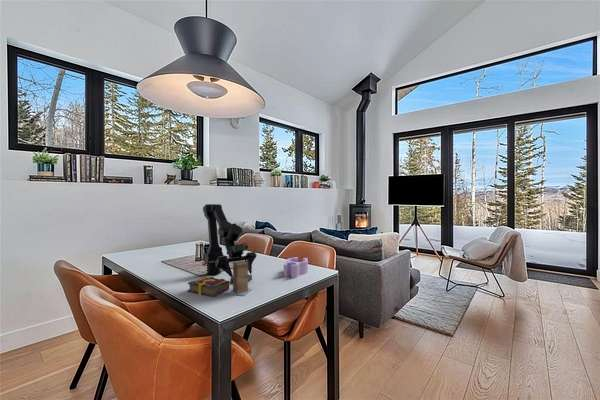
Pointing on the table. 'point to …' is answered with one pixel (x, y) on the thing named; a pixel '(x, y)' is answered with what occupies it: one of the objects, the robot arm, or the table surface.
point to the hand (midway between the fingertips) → (241, 275)
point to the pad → (240, 293)
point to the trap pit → (248, 278)
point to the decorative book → (208, 286)
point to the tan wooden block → (240, 276)
